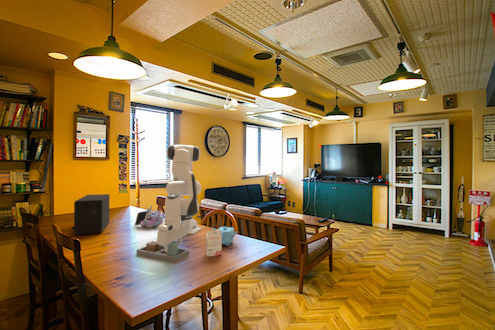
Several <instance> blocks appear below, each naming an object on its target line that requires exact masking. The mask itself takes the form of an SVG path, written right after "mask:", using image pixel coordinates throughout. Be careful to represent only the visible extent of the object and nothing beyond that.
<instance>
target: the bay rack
mask: <svg viewBox="0 0 495 330" xmlns="http://www.w3.org/2000/svg"><path fill="white" fill-rule="evenodd" d="M166 253H167V252H165V248H164V247H163V246H162V245H161V251H158V252H156V253H155V252H150V251H146V245H145V246H143V247H140V248H137V249H136V256H139V257H144V258H149V259H152V260H153V259H154V260H159V261H163V262H164V261H165V262H168V263H173V264H174V265H176V264H178V263H180V262H181V261H183V260H185V259H187V258H189V257H190V250H189V249H186V248H180V247H178V255H177V256H171V255H166Z"/></svg>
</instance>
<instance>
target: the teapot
mask: <svg viewBox="0 0 495 330" xmlns="http://www.w3.org/2000/svg"><path fill="white" fill-rule="evenodd" d="M211 229H212V231H214V230H221V235H222V245H225V246H226V247H229V246H230V245H231V244H232V242H233V241H234V237H235V236H236V235H237V234H238V231H235V229H234V227H230V226H229V227H228V226H219V228H218V229H216V228H214V227H211ZM216 233H217V232H213V234H216Z"/></svg>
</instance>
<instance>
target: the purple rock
mask: <svg viewBox="0 0 495 330" xmlns="http://www.w3.org/2000/svg"><path fill="white" fill-rule="evenodd" d="M152 208H153V205H150V206H149V207H148V208H147V209H146V210H145V211H140V212H137V215H136V218H135V222H134V227H136V226H141V227H147V229H148V228H149V229H150V228H153V227H156V228H157V227H158V226H159V225H160V224H162V223H163V222H164V219H165V212H162V211H159V210H154V211H153V210H152Z"/></svg>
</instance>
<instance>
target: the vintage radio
mask: <svg viewBox="0 0 495 330" xmlns="http://www.w3.org/2000/svg"><path fill="white" fill-rule="evenodd" d="M73 208H74V209H73V226H71V230H73V234H74V235H76V236H81V235H90V234H96V233H99V234H102V233H103V231H104V230H105V228H106V227H107V226H108V224H109V223H110V193H108V194H106V193H104V194H101V193H99V194H86V195H85V196H82V197H81V198H78V199H77V200H74V201H73Z"/></svg>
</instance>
